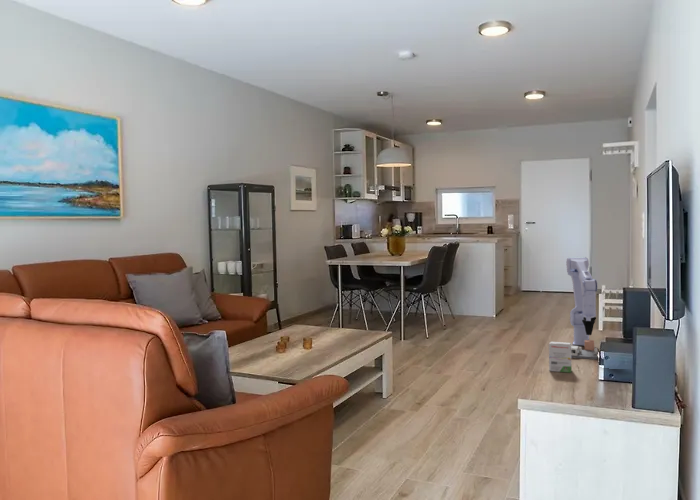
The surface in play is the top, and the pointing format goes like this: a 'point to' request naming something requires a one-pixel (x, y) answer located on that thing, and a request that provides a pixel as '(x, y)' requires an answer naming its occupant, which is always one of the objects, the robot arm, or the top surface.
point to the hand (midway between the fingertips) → (589, 333)
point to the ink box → (560, 357)
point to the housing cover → (574, 349)
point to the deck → (585, 354)
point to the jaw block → (589, 344)
